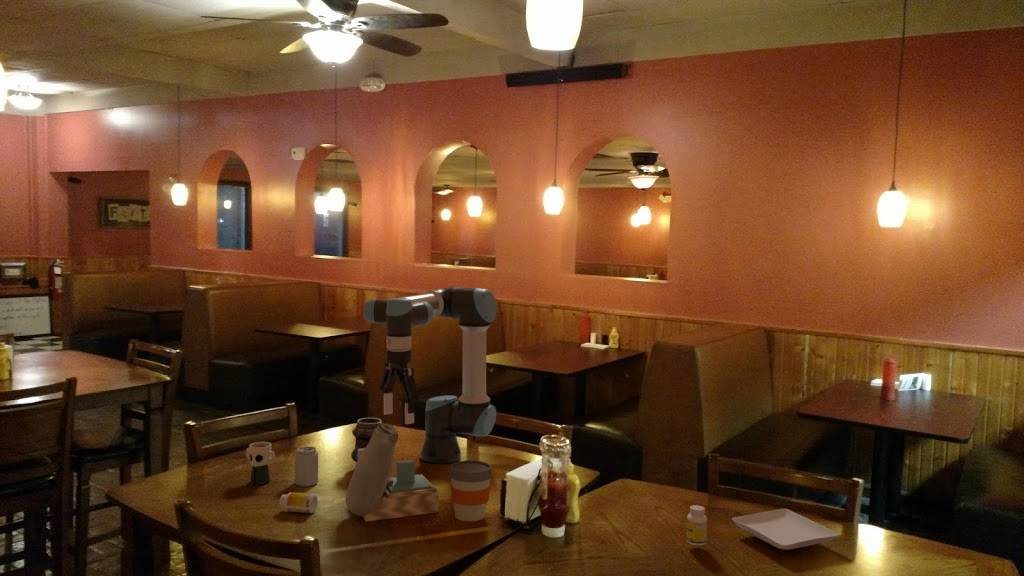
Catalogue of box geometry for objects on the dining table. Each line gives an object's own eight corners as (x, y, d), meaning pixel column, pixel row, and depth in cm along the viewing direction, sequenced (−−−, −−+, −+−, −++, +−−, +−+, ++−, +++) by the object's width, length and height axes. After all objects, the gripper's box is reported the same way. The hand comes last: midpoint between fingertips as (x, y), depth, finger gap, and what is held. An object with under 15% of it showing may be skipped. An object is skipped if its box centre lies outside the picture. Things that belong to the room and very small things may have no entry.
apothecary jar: (391, 472, 260) (392, 421, 259) (359, 477, 254) (359, 426, 252) (377, 463, 270) (377, 414, 269) (345, 468, 264) (346, 418, 262)
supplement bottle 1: (317, 490, 222) (284, 487, 223) (310, 501, 217) (276, 498, 218) (319, 505, 224) (286, 503, 225) (312, 517, 219) (279, 514, 220)
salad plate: (782, 556, 198) (782, 544, 198) (729, 528, 218) (730, 516, 218) (840, 545, 207) (841, 533, 207) (785, 518, 226) (785, 507, 226)
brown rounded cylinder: (379, 515, 221) (412, 431, 218) (360, 525, 212) (394, 437, 208) (353, 499, 225) (385, 416, 221) (334, 508, 215) (366, 421, 212)
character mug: (239, 484, 244) (239, 445, 243) (253, 478, 251) (253, 440, 250) (267, 488, 241) (267, 449, 240) (280, 481, 247) (280, 443, 247)
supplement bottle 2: (683, 538, 208) (684, 504, 208) (702, 538, 209) (703, 504, 208) (689, 546, 203) (691, 511, 202) (708, 546, 204) (710, 511, 203)
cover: (418, 479, 235) (419, 454, 235) (430, 491, 224) (430, 465, 224) (381, 483, 230) (381, 458, 230) (391, 495, 219) (391, 469, 219)
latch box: (422, 494, 238) (422, 473, 238) (438, 512, 224) (438, 489, 223) (354, 503, 229) (354, 481, 229) (365, 521, 215) (365, 497, 214)
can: (321, 481, 249) (321, 446, 248) (313, 488, 242) (313, 452, 241) (299, 479, 250) (300, 444, 249) (291, 487, 242) (291, 451, 242)
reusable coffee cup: (459, 526, 213) (460, 475, 212) (442, 511, 224) (443, 463, 223) (498, 519, 219) (499, 469, 218) (480, 505, 230) (481, 458, 229)
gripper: (369, 344, 231) (368, 411, 233) (408, 356, 211) (407, 429, 213) (390, 343, 236) (390, 408, 237) (430, 354, 216) (430, 426, 218)
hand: (398, 418), depth 225 cm, fingers open, 13 cm apart
